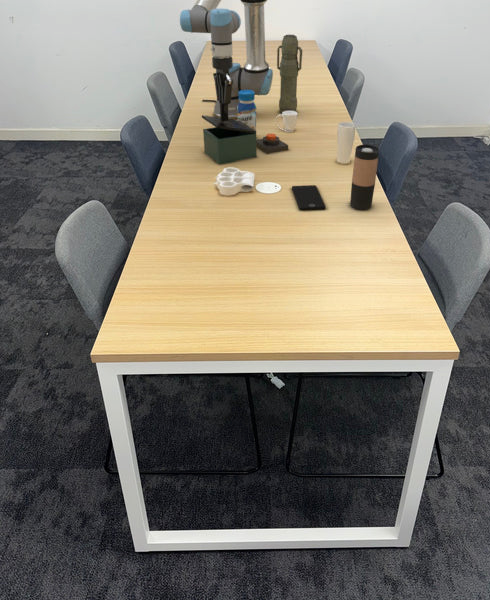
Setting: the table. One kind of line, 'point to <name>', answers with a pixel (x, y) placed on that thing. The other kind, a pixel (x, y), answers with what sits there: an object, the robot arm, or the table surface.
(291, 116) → the cup
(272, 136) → the button
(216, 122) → the box lid
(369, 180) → the travel mug
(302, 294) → the table surface
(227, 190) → the white holed block
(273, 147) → the control pad
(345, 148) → the drinking glass
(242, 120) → the beverage bottle
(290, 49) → the thermos
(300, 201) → the cell phone
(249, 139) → the green box
